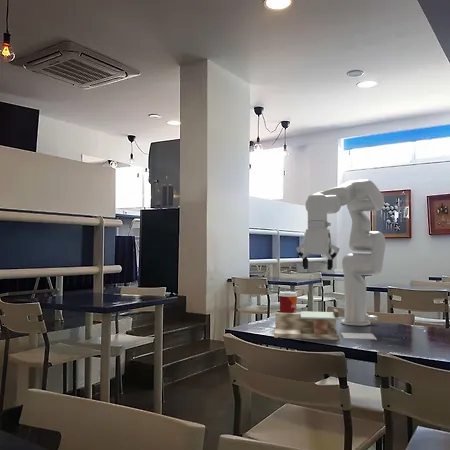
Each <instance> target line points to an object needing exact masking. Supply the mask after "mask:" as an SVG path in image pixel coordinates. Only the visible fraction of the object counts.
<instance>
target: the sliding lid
mask: <svg viewBox="0 0 450 450" xmlns="http://www.w3.org/2000/svg"><path fill="white" fill-rule="evenodd" d="M299 313H300V315H301V319H331V320H336V321H337V320H338V321H339V320H340V317H339V310H338V309H337V308H333V309H332V311H305V310H304V311H300V312H299Z"/></svg>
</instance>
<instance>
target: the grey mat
mask: <svg viewBox="0 0 450 450" xmlns="http://www.w3.org/2000/svg"><path fill="white" fill-rule="evenodd" d="M340 334H341V336H342V338H343V339H346V340H347V339H349V340H350V339H351V340H353V339H354V340H375V341H377V339H378V338H377V337H376V336H375V335H374V334H373V333H366V332H365V333H363V332H362V333H361V332H359V333H356V332H341V333H340Z"/></svg>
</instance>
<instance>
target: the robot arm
mask: <svg viewBox="0 0 450 450" xmlns="http://www.w3.org/2000/svg"><path fill="white" fill-rule="evenodd" d="M344 206H346V207H347V209H348V210H347V211H348V213H349V215H350V219H351V229H350V235H349V242H348V244H349V245H348V246H349V249H350V251H351V252H352V253H347V254H345V255H344V256H343V258H342V261H341V264H342V271H343V272H342V273H343V278H344V279H343V280H344V318H343V319H341V320H340V323H341V324H343V325H346V326H347V325H348V326H356V327H357V326H361V327H362V326H363V327H364V326H369V325H371V321H378V316H377V315H369V314H368V313H367V283H366V281H365V279H364V278H363V276H378V275H380V274H381V273H382V269H383V265H384V257H385V251H386V237H385V235H384V233H382V232H381V231H378V230H377V231H376V230H375V231H372V229H371V228H372V222H371V220H370V218H369V217H368V216H367V214H365V212H377V211H381V210H382V209H384V206H385V198H384V195H383V194H382V192H381V190H380V189H379V188H378V187H377V185H376V184H375V183H374V182H373V181H372V180H370V179H357V180H356V179H355V180H354V179H353V180H348V181H346V182H344V183H341V184H340V185H338V186H336V187H331V188H329V189H326V190H325V189H324V190H322V191H317V192H316V193H313V194H309V195H308V196H307V199H306V201H305V210H306V212H307V229H305V233H304V240H303V241H304V243H302V244H300V245H299V246H297V247H296V248H295V249H296V252H297V254H298V255H299V257H300V258H301V259H302V268H303V270H308V268H309V259H308V257H309V256H310V255H325V256H326V257H327V263H326V264H327V265H326V266H327V268H326V269H327V271H331V270H332V269H333V267H334V265H333V264H334V259H335V257H337V256H338V254H339V252H340V248H339V247H338V246H336V245H334V244H332V236H331V231H330V229H329V227H331V222H329V221H328V215H330V214H332V215H333V214H337V213H339V211H340V210H341V207H344ZM302 250H303V252H304V253H303V252H302ZM332 250H334V251H333V253H332ZM353 252H354V253H353Z"/></svg>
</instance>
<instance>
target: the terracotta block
mask: <svg viewBox="0 0 450 450" xmlns="http://www.w3.org/2000/svg"><path fill="white" fill-rule="evenodd" d="M313 332H314V334H327V319H313Z"/></svg>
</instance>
